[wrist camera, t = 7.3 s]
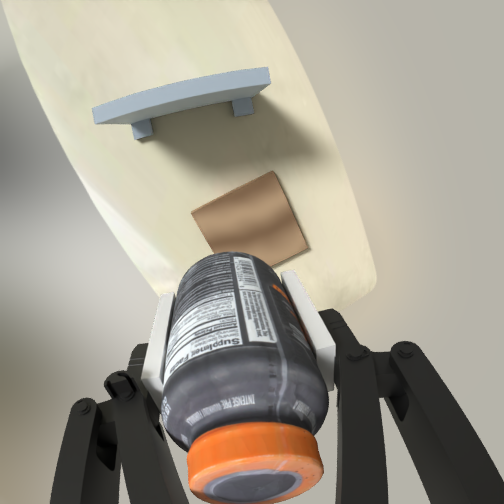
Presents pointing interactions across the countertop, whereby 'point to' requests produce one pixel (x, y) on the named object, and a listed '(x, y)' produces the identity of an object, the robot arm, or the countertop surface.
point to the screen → (184, 99)
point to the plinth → (252, 222)
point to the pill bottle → (242, 385)
